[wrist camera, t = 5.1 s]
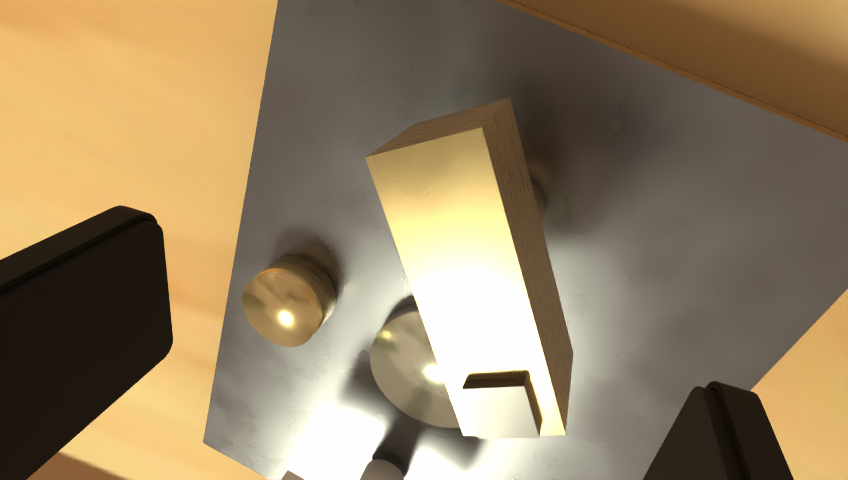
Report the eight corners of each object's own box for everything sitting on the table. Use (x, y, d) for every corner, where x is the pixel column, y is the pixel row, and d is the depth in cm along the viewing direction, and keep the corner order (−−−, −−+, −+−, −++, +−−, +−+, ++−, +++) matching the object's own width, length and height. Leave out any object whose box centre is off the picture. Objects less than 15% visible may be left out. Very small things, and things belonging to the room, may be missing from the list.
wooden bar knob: (444, 103, 15) (358, 161, 10) (526, 79, 14) (478, 130, 9) (504, 309, 17) (460, 444, 12) (578, 301, 16) (564, 445, 11)
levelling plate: (227, 415, 28) (180, 467, 25) (325, -75, 16) (259, -90, 13) (533, 581, 26) (522, 660, 23) (905, 160, 14) (990, 207, 11)
